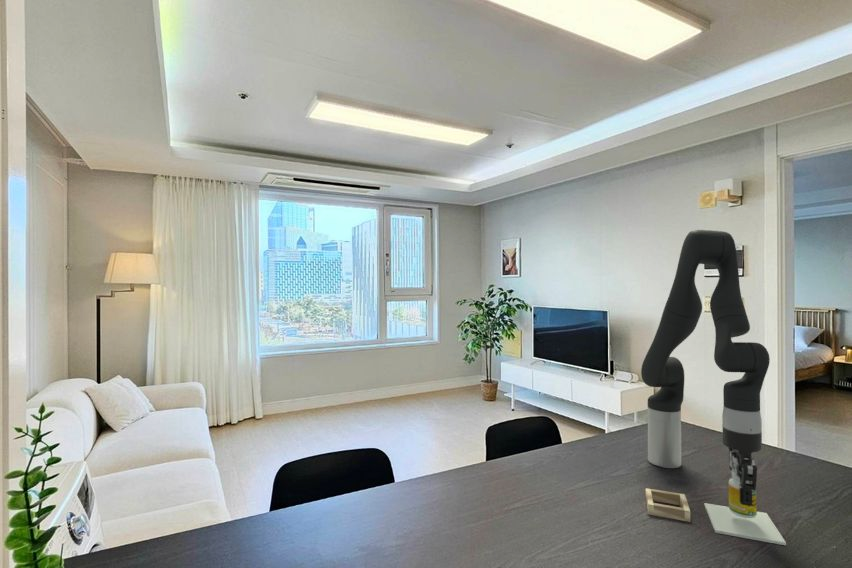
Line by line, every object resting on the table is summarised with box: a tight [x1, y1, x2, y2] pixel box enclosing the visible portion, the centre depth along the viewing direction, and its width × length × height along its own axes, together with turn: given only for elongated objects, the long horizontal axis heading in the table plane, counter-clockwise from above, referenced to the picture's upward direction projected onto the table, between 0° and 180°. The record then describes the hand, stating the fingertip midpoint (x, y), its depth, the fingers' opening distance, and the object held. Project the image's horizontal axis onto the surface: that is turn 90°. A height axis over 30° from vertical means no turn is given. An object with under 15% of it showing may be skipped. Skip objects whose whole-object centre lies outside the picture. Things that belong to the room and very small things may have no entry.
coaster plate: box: [703, 502, 787, 546], centre depth 103 cm, size 13×13×1 cm
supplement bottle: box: [728, 469, 758, 518], centre depth 103 cm, size 5×5×10 cm
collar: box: [645, 487, 691, 523], centre depth 110 cm, size 9×9×2 cm
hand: (742, 498), depth 103 cm, fingers closed on supplement bottle, 5 cm apart
